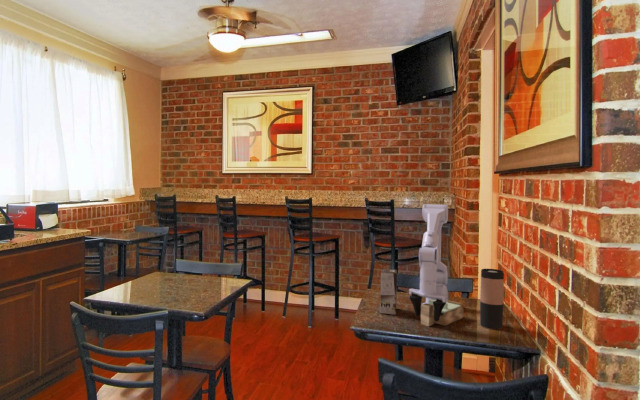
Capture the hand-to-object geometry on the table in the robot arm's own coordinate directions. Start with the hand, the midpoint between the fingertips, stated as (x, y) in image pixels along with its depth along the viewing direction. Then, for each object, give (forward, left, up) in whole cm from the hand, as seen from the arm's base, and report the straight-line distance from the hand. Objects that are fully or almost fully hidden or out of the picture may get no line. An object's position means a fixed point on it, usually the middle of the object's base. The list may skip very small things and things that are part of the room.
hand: (427, 318), depth 135 cm
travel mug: (-17, +16, -2) cm, 23 cm away
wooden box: (-11, 0, -2) cm, 11 cm away
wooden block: (0, 0, -2) cm, 2 cm away
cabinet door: (-10, 0, +2) cm, 10 cm away
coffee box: (-3, -19, -2) cm, 19 cm away
